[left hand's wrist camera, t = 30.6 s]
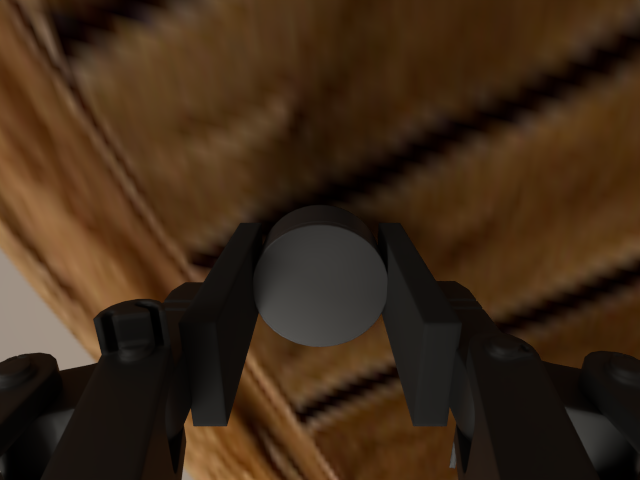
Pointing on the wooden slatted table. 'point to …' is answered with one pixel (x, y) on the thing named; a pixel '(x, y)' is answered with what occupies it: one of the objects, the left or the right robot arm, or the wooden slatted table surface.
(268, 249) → the cap
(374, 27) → the wooden slatted table surface
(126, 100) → the wooden slatted table surface
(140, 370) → the left robot arm
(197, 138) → the wooden slatted table surface
